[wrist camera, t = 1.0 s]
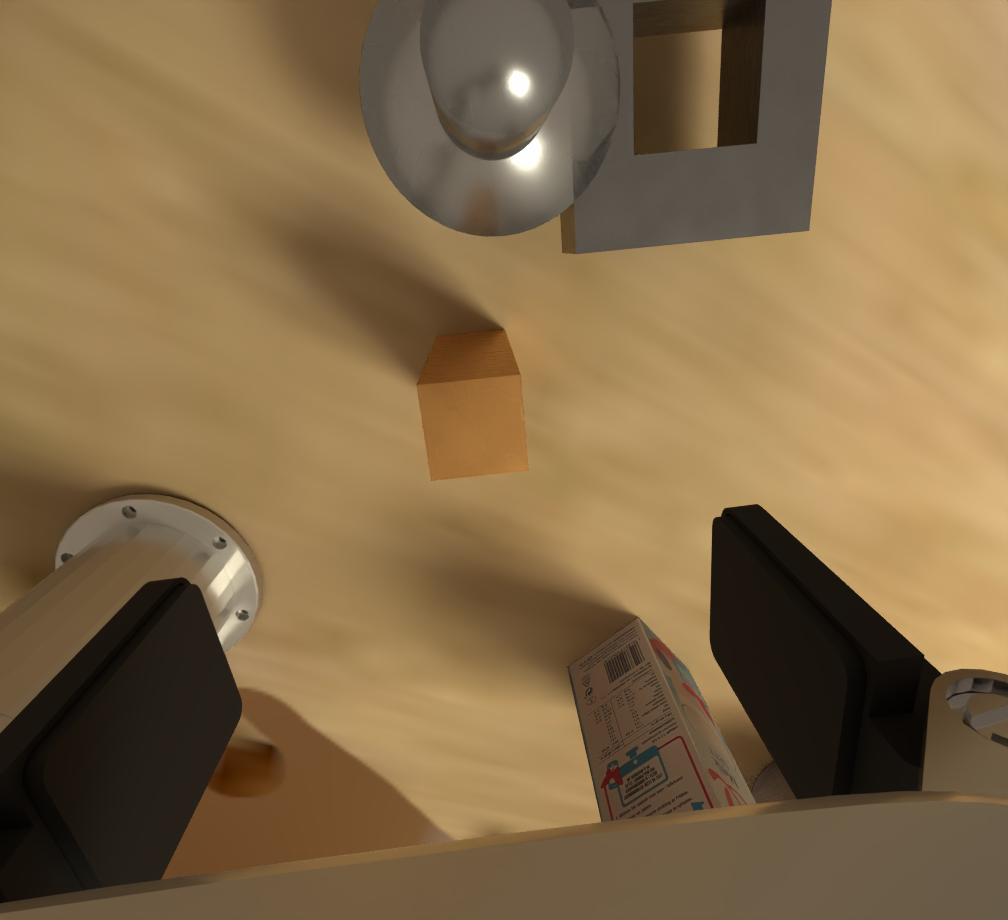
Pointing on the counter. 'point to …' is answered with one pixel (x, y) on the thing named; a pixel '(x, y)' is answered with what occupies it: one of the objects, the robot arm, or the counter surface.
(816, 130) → the block with square hole
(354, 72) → the counter surface
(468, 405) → the wooden block
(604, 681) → the juice carton
